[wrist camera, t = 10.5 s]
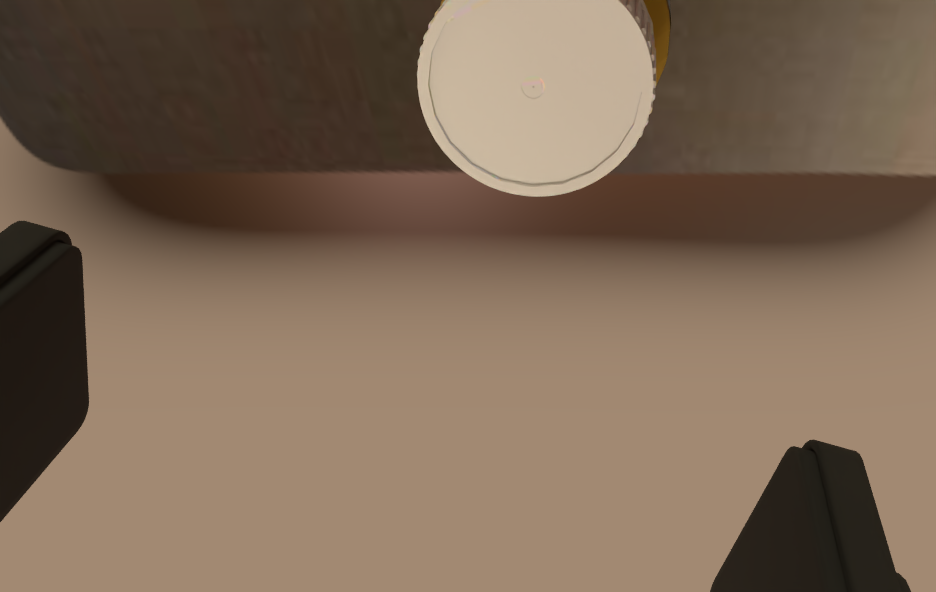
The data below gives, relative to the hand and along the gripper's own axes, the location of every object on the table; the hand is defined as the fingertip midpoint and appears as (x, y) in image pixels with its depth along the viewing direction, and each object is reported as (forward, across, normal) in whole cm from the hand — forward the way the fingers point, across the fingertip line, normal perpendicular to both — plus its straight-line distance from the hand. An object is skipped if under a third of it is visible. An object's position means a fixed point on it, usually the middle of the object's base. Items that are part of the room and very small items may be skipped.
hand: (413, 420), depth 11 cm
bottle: (+28, 0, 0) cm, 28 cm away
